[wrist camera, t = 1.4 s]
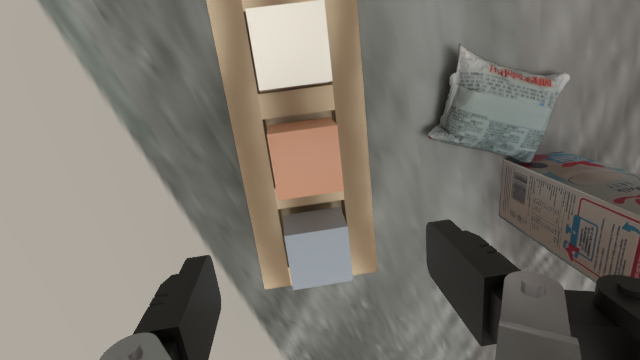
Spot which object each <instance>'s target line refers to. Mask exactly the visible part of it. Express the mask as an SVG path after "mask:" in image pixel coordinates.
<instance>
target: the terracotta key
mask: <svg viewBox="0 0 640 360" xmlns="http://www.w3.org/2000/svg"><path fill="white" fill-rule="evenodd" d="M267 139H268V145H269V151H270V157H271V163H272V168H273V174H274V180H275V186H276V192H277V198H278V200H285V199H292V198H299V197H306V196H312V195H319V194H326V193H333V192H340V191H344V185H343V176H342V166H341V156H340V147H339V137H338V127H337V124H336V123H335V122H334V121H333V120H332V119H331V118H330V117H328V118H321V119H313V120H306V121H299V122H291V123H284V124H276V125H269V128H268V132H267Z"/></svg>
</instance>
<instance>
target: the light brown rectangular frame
mask: <svg viewBox="0 0 640 360" xmlns="http://www.w3.org/2000/svg"><path fill="white" fill-rule="evenodd" d="M307 1H316V0H206V2H207V7H208V12H209V16H210V21H211V26H212V31H213V36H214V41H215V46H216V51H217V56H218V61H219V66H220V71H221V76H222V80H223V85H224V90H225V95H226V100H227V105H228V110H229V115H230V120H231V125H232V130H233V135H234V140H235V144H236V149H237V154H238V159H239V164H240V169H241V174H242V179H243V184H244V189H245V194H246V199H247V204H248V208H249V213H250V218H251V223H252V228H253V233H254V238H255V243H256V248H257V253H258V258H259V263H260V268H261V272H262V277H263V282H264V287H265V289H271V288H277V287H284V286H290V285H292V279H291V273H290V268H289V262H288V256H287V250H286V244H285V238H284V215H288V214H295V213H302V212H309V211H315V210H322V209H329V208H335V207H340V208H341V211H342V213H343V216H344V218H345V221H346V223H347V226H348V234H349V244H350V253H351V263H352V273H353V275H358V274H364V273H371V272H377V259H376V246H375V233H374V219H373V206H372V193H371V180H370V166H369V153H368V140H367V127H366V113H365V100H364V87H363V74H362V60H361V47H360V34H359V21H358V7H357V0H324V1H325V11H326V21H327V30H328V40H329V50H330V59H331V69H332V79H333V81H331V82H323V83H315V84H308V85H300V86H292V87H284V88H277V89H269V90H261V91H259V87H258V81H257V75H256V69H255V63H254V58H253V52H252V46H251V40H250V34H249V28H248V23H247V17H246V11H245V9H247V8H255V7H264V6H273V5H281V4H290V3H299V2H307ZM328 117H330V118H331V119H332V120H333V121H334V122H335V123H336V124H337V127H338V137H339V147H340V156H341V166H342V176H343V185H344V191H340V192H333V193H326V194H319V195H312V196H306V197H299V198H292V199H285V200H278V198H277V192H276V186H275V180H274V174H273V168H272V163H271V157H270V151H269V145H268V139H267V132H268V128H269V125H276V124H284V123H291V122H299V121H306V120H313V119H321V118H328Z"/></svg>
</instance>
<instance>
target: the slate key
mask: <svg viewBox="0 0 640 360" xmlns="http://www.w3.org/2000/svg"><path fill="white" fill-rule="evenodd" d="M284 238H285V244H286V250H287V256H288V262H289V268H290V273H291V279H292V285H293V290H298V289H304V288H311V287H317V286H323V285H329V284H335V283H341V282H348V281H353V273H352V263H351V253H350V244H349V234H348V226H347V223H346V221H345V218H344V216H343V213H342V211H341V208H340V207H335V208H329V209H322V210H315V211H309V212H302V213H295V214H288V215H284Z"/></svg>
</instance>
